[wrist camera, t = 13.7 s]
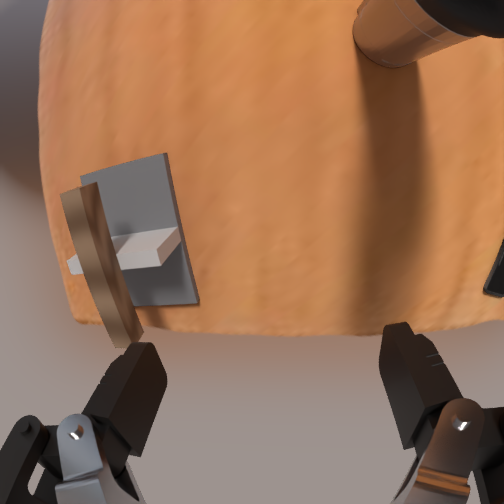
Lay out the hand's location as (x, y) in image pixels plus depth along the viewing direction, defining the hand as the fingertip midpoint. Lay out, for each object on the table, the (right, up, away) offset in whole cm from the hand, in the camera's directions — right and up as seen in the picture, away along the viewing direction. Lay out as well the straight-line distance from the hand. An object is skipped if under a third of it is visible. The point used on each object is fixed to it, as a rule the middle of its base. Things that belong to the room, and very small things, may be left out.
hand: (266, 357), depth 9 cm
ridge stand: (-17, +6, +32) cm, 36 cm away
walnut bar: (-18, +2, +23) cm, 29 cm away
